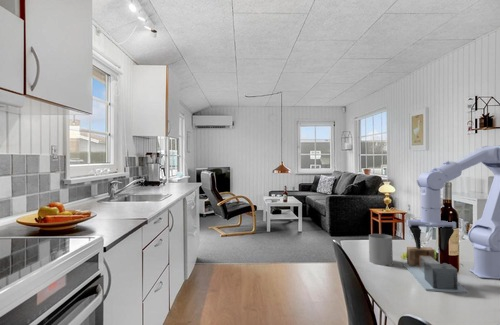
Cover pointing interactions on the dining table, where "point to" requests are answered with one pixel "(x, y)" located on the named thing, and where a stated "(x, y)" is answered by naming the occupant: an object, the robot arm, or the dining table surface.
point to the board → (421, 279)
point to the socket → (415, 252)
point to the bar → (426, 259)
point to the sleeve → (441, 276)
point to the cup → (380, 249)
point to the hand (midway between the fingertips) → (430, 248)
